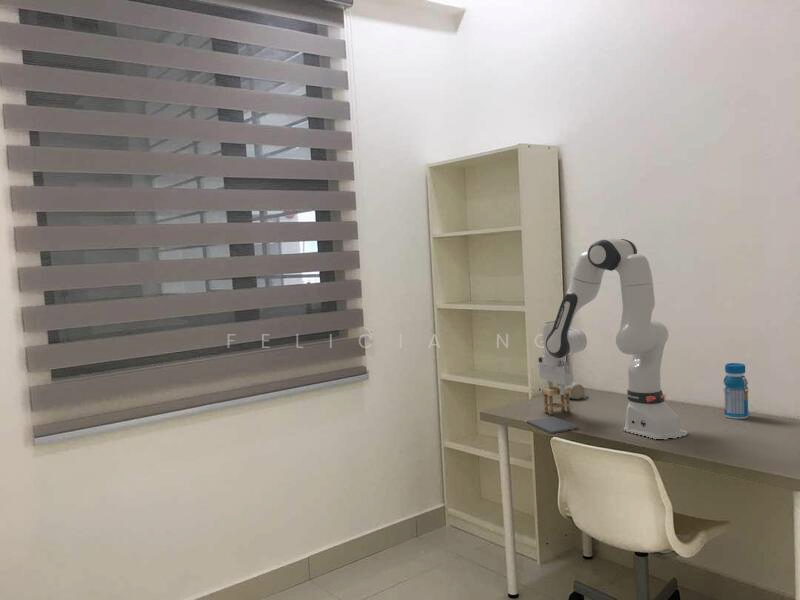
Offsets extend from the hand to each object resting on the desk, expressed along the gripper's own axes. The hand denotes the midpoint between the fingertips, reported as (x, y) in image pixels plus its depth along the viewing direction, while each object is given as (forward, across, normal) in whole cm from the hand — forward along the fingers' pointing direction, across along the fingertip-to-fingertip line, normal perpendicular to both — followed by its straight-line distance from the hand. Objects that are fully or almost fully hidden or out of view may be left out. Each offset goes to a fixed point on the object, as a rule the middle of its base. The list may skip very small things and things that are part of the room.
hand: (556, 393), depth 265 cm
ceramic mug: (+9, +19, -21) cm, 30 cm away
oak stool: (+8, 0, 0) cm, 8 cm away
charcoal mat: (+8, -16, +12) cm, 22 cm away
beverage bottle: (+9, -40, -53) cm, 67 cm away
